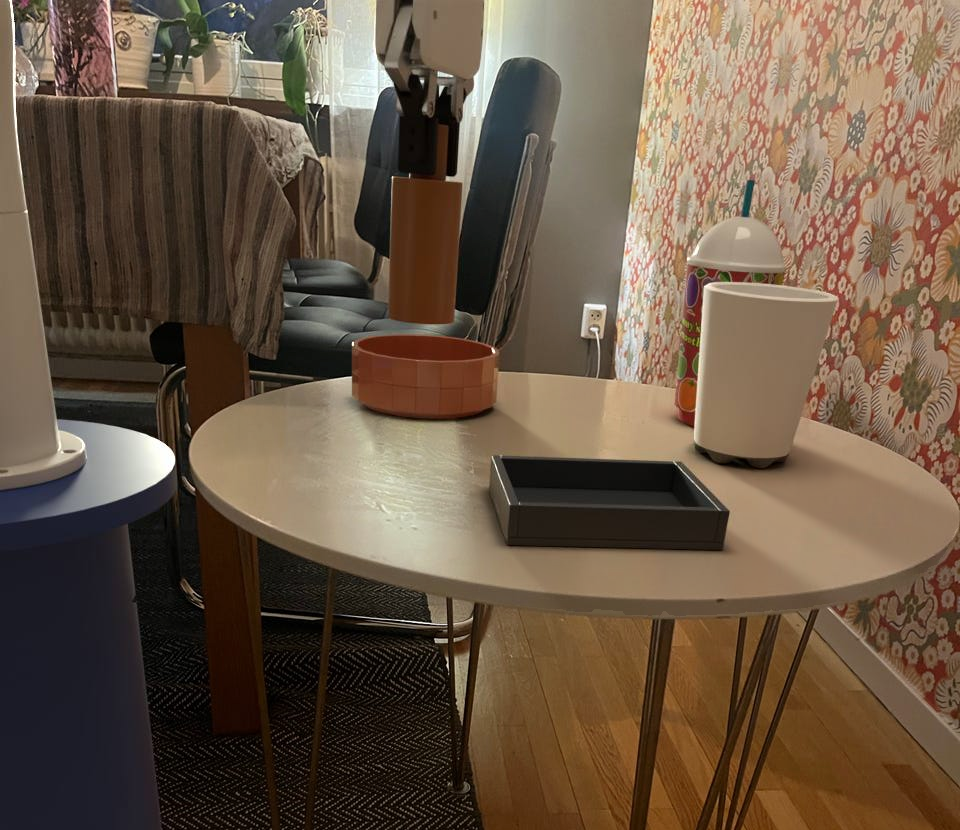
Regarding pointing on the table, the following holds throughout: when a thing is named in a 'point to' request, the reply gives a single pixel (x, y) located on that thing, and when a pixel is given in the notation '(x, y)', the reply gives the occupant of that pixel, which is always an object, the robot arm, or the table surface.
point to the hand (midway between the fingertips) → (427, 172)
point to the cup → (756, 367)
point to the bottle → (425, 244)
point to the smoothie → (722, 258)
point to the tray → (604, 504)
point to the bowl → (424, 375)
